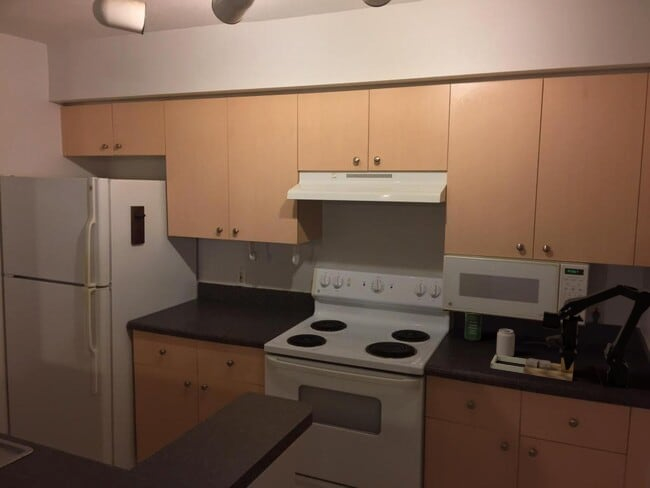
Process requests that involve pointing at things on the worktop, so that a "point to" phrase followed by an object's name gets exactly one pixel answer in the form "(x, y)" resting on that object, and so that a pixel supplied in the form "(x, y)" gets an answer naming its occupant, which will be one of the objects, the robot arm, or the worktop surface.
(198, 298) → the worktop surface
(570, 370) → the yellow wooden block
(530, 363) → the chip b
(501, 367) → the tray
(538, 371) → the slot board
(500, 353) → the can
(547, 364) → the chip
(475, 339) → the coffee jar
